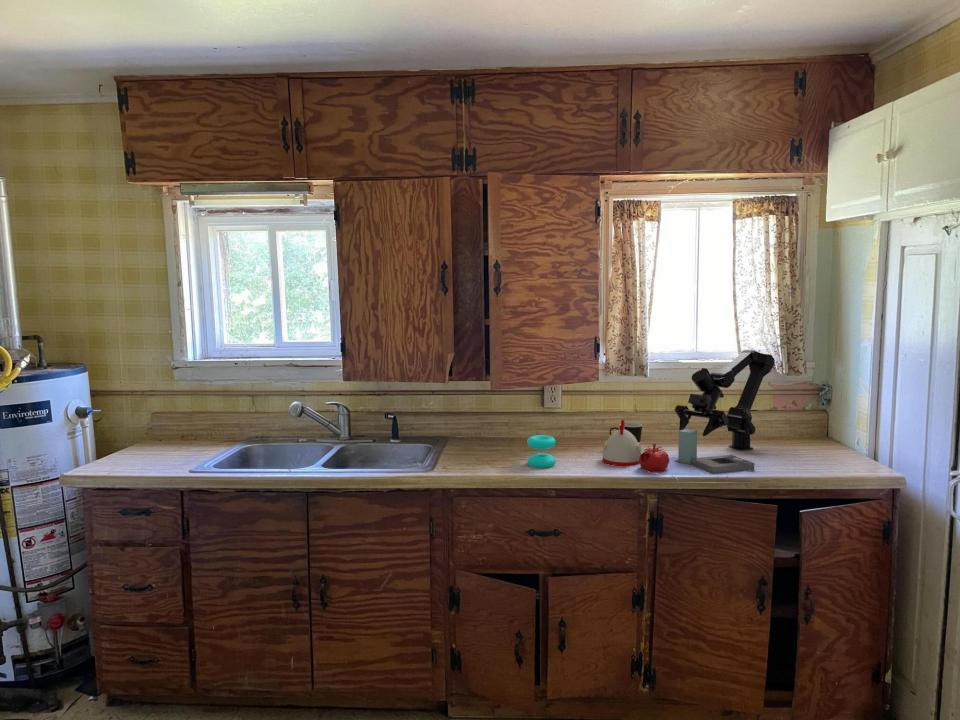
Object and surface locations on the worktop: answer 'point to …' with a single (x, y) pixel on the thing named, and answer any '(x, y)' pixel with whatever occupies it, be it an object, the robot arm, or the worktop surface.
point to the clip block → (687, 445)
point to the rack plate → (722, 464)
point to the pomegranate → (654, 459)
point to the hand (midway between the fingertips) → (691, 433)
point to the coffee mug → (632, 430)
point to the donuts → (541, 459)
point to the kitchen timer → (622, 448)
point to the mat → (683, 462)
